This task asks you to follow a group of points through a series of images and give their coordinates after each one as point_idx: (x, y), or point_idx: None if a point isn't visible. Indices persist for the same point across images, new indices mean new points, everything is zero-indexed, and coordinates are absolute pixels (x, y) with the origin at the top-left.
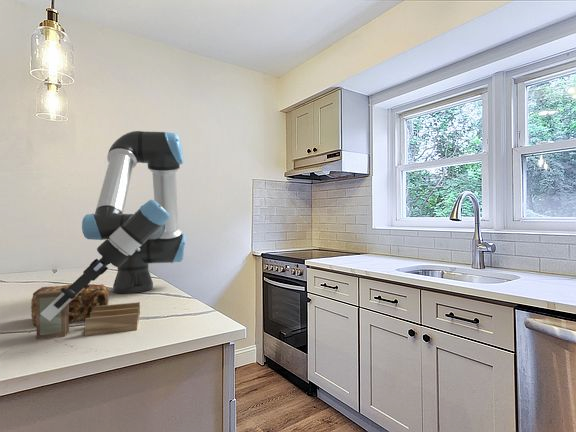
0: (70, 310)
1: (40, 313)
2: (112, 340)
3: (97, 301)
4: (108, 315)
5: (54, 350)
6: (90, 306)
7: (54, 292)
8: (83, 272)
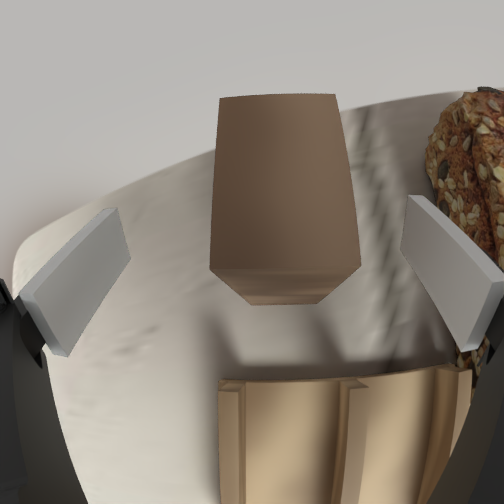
0: None
1: (103, 210)
2: (138, 460)
3: None
4: (340, 459)
5: (110, 304)
6: (484, 343)
7: (244, 186)
8: (12, 487)
